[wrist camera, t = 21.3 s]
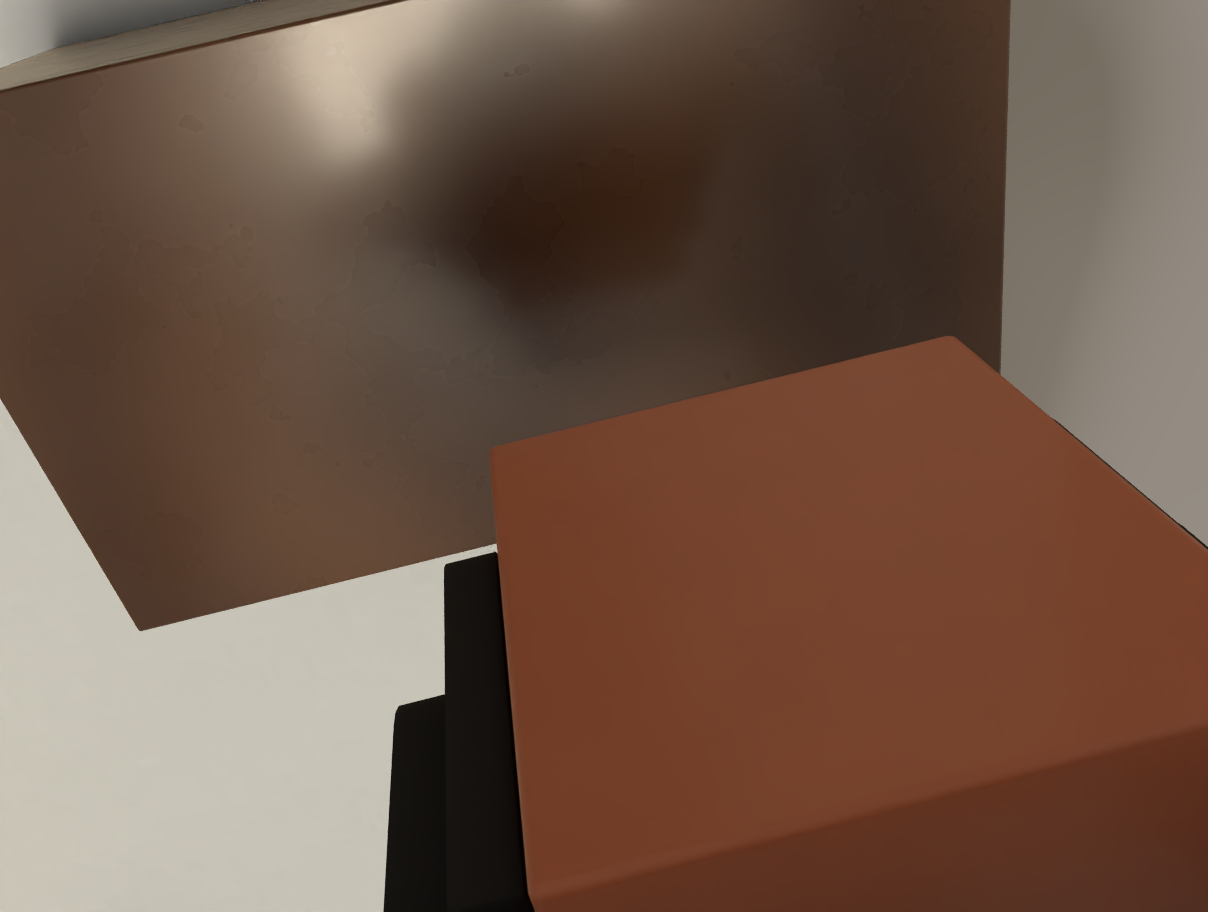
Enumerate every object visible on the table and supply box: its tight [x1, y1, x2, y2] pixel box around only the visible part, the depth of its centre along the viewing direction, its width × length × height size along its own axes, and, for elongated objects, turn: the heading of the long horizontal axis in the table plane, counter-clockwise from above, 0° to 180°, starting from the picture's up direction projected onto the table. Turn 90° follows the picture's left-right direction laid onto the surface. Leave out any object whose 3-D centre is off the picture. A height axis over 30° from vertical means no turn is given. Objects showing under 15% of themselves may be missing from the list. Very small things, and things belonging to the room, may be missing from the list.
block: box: [489, 336, 1208, 912], centre depth 9 cm, size 5×5×5 cm
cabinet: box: [0, 0, 1011, 631], centre depth 21 cm, size 18×10×9 cm, turn 101°
